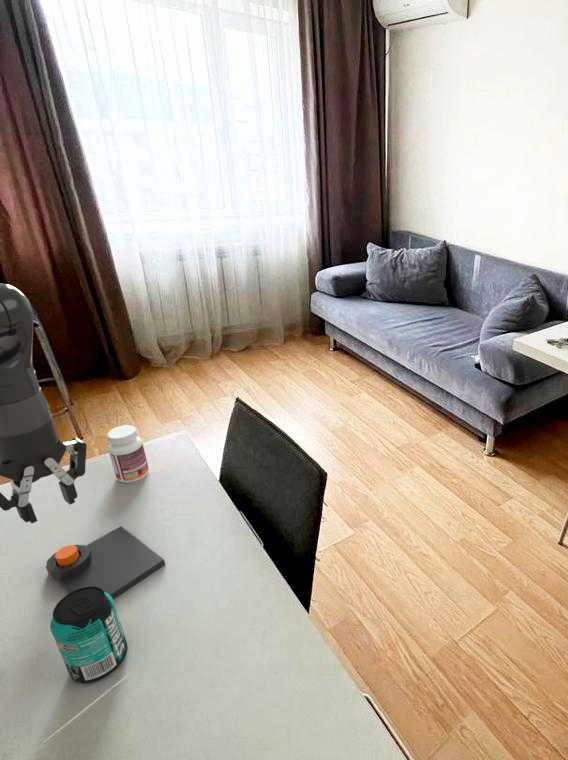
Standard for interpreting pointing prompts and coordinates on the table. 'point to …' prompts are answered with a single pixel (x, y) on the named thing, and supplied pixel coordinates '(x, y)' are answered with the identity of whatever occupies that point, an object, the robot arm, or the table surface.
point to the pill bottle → (127, 454)
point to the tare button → (67, 555)
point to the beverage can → (88, 634)
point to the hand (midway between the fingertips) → (51, 510)
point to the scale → (108, 564)
